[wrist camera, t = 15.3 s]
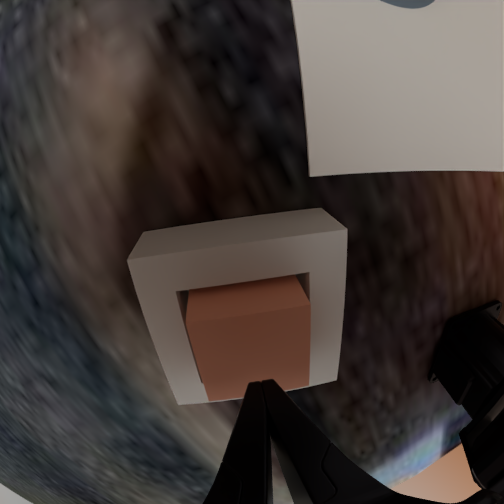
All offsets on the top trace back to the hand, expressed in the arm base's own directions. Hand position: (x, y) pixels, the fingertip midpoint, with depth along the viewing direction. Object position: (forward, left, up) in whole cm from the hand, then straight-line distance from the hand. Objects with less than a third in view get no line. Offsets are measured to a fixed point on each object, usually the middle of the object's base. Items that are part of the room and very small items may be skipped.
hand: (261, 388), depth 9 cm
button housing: (0, 0, -6) cm, 6 cm away
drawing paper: (-12, -14, -6) cm, 20 cm away
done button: (0, 0, -4) cm, 4 cm away
